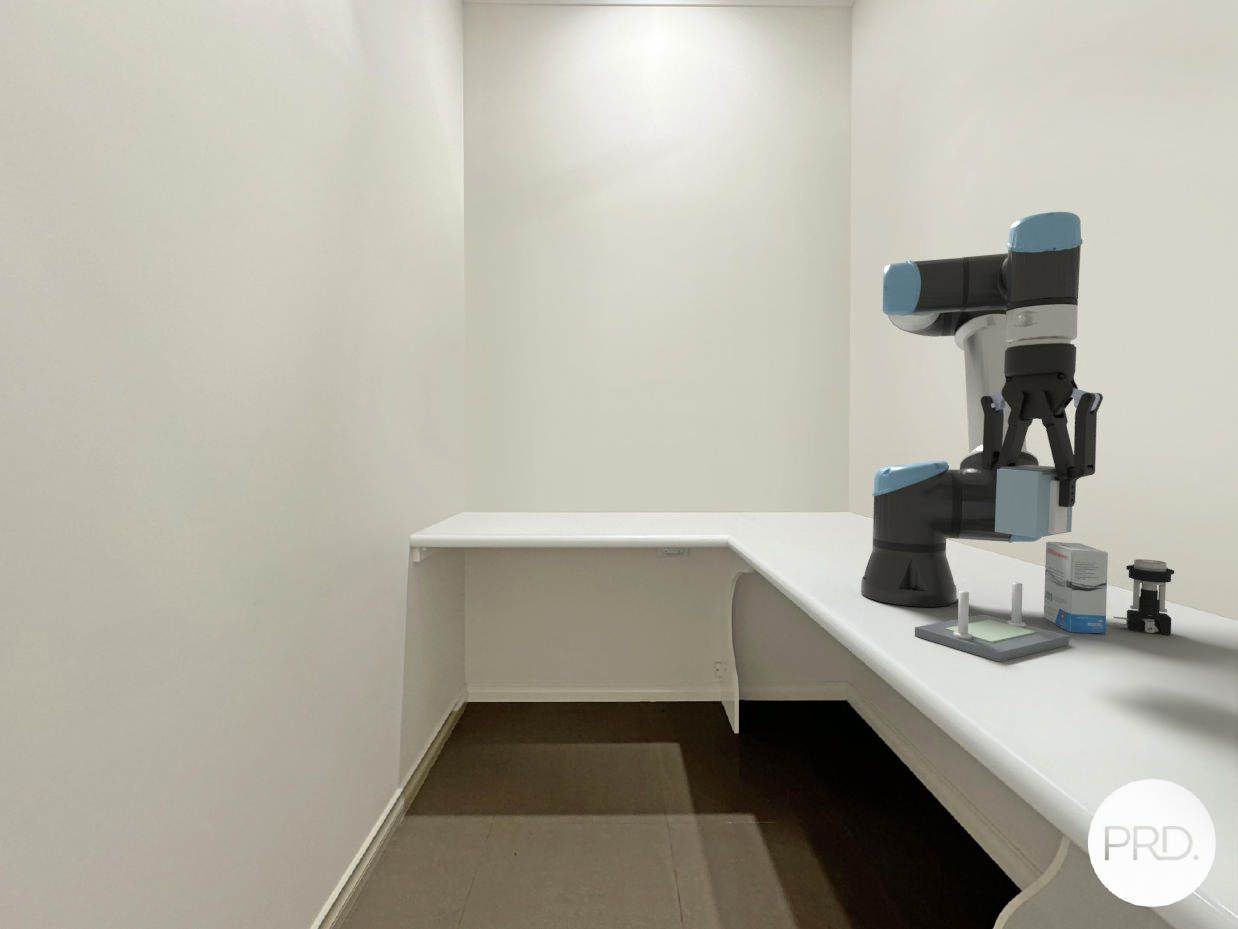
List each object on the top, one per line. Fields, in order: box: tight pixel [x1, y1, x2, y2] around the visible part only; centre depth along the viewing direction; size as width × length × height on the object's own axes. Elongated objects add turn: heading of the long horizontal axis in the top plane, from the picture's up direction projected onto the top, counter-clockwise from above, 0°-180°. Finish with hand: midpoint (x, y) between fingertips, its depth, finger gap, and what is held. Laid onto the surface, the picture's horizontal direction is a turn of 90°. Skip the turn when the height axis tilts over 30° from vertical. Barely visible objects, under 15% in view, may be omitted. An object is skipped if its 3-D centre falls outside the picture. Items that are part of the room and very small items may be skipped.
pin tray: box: [914, 582, 1070, 663], centre depth 89 cm, size 12×15×7 cm
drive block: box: [995, 465, 1073, 538], centre depth 83 cm, size 5×8×8 cm, turn 119°
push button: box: [1112, 558, 1175, 636], centre depth 94 cm, size 7×5×10 cm
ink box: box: [1043, 541, 1109, 635], centre depth 97 cm, size 8×5×12 cm, turn 168°
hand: (1033, 528), depth 84 cm, fingers closed on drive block, 5 cm apart
